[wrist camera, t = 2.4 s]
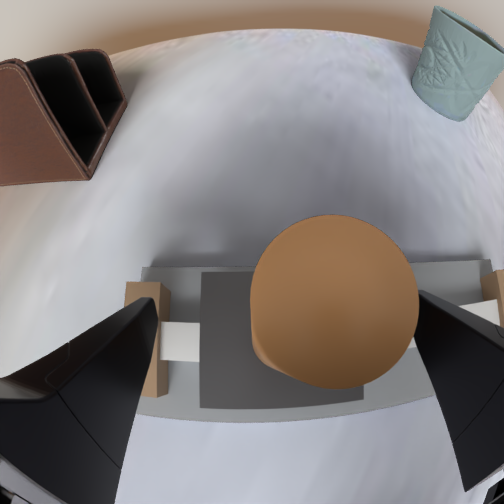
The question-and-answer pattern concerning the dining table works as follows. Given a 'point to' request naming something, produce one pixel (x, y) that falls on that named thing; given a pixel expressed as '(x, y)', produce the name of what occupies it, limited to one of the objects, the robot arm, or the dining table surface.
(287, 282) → the carriage
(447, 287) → the rail
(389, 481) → the dining table surface
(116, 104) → the letter holder
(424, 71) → the green planter pot
